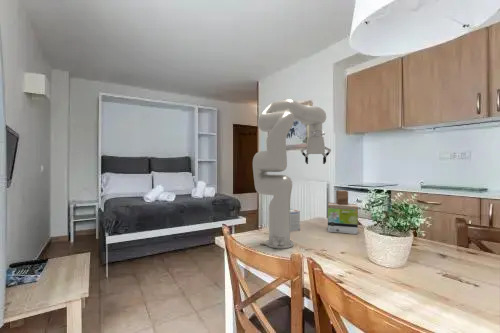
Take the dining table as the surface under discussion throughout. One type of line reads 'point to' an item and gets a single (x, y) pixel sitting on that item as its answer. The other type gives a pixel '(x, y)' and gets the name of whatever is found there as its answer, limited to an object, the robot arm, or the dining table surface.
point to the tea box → (343, 218)
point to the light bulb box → (294, 219)
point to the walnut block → (342, 197)
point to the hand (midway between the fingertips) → (315, 163)
